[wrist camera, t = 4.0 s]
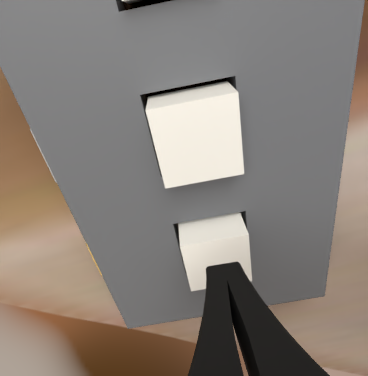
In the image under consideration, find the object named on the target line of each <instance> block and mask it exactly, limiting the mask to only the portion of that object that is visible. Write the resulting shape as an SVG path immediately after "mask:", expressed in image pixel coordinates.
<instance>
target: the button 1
mask: <svg viewBox="0 0 368 376" xmlns="http://www.w3.org/2000/svg"><path fill="white" fill-rule="evenodd" d="M122 1H123V2H125V3H128V4H131V3H136V2H141V1H145V0H122Z"/></svg>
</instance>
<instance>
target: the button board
mask: <svg viewBox="0 0 368 376" xmlns="http://www.w3.org/2000/svg"><path fill="white" fill-rule="evenodd" d="M364 1H365V0H172V1H167V2H163V3H158V4H153V5H149V6H144V7H139V8H134V9H130V10H125V7H124V3H123V1H122V0H0V67H1V69H2V71H3V73H4V75H5V77H6V79H7V81H8V83H9V85H10V87H11V89H12V92H13V94H14V96H15V98H16V100H17V102H18V104H19V106H20V108H21V110H22V112H23V114H24V116H25V118H26V120H27V122H28V124H29V126H30V128H31V129H30V131H31V133H32V135H33V137H34V139H35V141H36V143H37V145H38V147H39V149H40V151H41V153H42V155H43V157H44V159H45V161H46V163H47V165H48V168H49V170H50V172H51V174H52V176H53V178H54V180H55V182H57V184H58V186H59V188H60V190H61V192H62V194H63V196H64V198H65V200H66V202H67V204H68V206H69V208H70V211H71V213H72V215H73V217H74V219H75V221H76V223H77V225H78V227H79V229H80V231H81V233H82V235H83V237H84V239H85V241H86V245H87V247H88V249H89V251H90V253H91V255H92V257H93V259H94V261H95V264H96V266H97V268H98V270H99V272H100V274H101V276H103V278H104V280H105V282H106V284H107V286H108V289H109V291H110V293H111V295H112V297H113V299H114V301H115V303H116V305H117V307H118V309H119V311H120V313H121V315H122V317H123V319H124V321H125V323H126V325H127V328H128V329H129V328H135V327H141V326H147V325H153V324H159V323H165V322H171V321H177V320H183V319H189V318H195V317H201V316H203V309H204V302H205V294H206V289H202V290H196V291H191V289H190V285H189V281H188V277H187V273H186V269H185V265H184V261H183V257H182V253H181V249H180V241H179V228H178V224H177V223H181V222H187V221H192V220H198V219H203V218H209V217H215V216H220V215H226V214H231V213H237V212H240V213H241V216H242V219H243V221H244V224H245V226H246V229H247V231H248V234H249V244H250V258H251V272H252V281H250V282H251V283H252V285H253V287H254V288H255V290H256V291H257V293H258V294H259V295H260V297H261V298H262V300H263V301H264V302H265V304H266V305H267V306H268V305H274V304H280V303H286V302H292V301H298V300H304V299H310V298H316V297H323V296H325V289H326V282H327V274H328V267H329V259H330V252H331V245H332V237H333V230H334V223H335V215H336V208H337V200H338V193H339V186H340V178H341V171H342V163H343V156H344V149H345V141H346V134H347V126H348V119H349V112H350V104H351V97H352V90H353V82H354V75H355V67H356V60H357V53H358V45H359V38H360V30H361V23H362V16H363V8H364ZM222 78H226V79H227V81H228V82H229V83H230V84H231V85H232V86H233V87H234V88H235V89H236V90H237V91H238V95H239V108H240V122H241V136H242V149H243V163H244V174H242V175H236V176H231V177H226V178H220V179H215V180H209V181H204V182H199V183H193V184H188V185H182V186H177V187H171V188H166V189H165V186H164V182H163V178H162V174H161V170H160V166H159V162H158V158H157V154H156V150H155V146H154V142H153V138H152V134H151V130H150V126H149V122H148V118H147V114H146V105H147V97H146V94H147V93H152V92H157V91H162V90H167V89H172V88H177V87H182V86H187V85H192V84H197V83H202V82H207V81H212V80H217V79H222Z"/></svg>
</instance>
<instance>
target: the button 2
mask: <svg viewBox="0 0 368 376" xmlns="http://www.w3.org/2000/svg"><path fill="white" fill-rule="evenodd" d="M178 227H179V241H180V249H181V253H182V257H183V261H184V265H185V269H186V273H187V277H188V281H189V285H190V289H191V291H196V290H202V289H206V268H207V267H208V266H213V265H219V264H225V263H231V262H239V263H240V264H241V266H242V268H243V270H244V272H245V274H246V275H247V277H248V279H249V280H250V281H252V272H251V258H250V244H249V234H248V231H247V229H246V226H245V224H244V221H243V219H242V216H241V213H240V212H237V213H231V214H226V215H220V216H215V217H209V218H203V219H198V220H192V221H187V222H181V223H178Z"/></svg>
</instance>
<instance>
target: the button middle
mask: <svg viewBox="0 0 368 376" xmlns="http://www.w3.org/2000/svg"><path fill="white" fill-rule="evenodd" d="M146 114H147V118H148V122H149V126H150V130H151V134H152V138H153V142H154V146H155V150H156V154H157V158H158V162H159V166H160V170H161V174H162V178H163V182H164V186H165V189H166V188H171V187H177V186H182V185H188V184H193V183H199V182H204V181H209V180H215V179H220V178H226V177H231V176H236V175H242V174H244V163H243V149H242V136H241V122H240V108H239V95H238V91H237V90H236V89H235V88H234V87H233V86H232V85H231V84H230V83H229V82H228V81H224V82H219V83H214V84H209V85H204V86H199V87H194V88H189V89H184V90H179V91H174V92H169V93H164V94H158V95H153V96H148V101H147V105H146Z"/></svg>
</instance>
